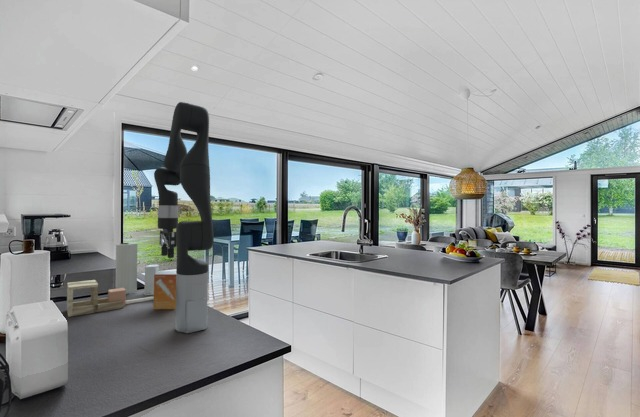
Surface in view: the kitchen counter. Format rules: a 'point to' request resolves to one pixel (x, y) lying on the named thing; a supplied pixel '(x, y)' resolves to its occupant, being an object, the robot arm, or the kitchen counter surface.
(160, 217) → the robot arm
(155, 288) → the small box
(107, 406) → the kitchen counter surface
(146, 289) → the skincare box
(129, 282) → the tall grey box
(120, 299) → the tethered block
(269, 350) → the kitchen counter surface
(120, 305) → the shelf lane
